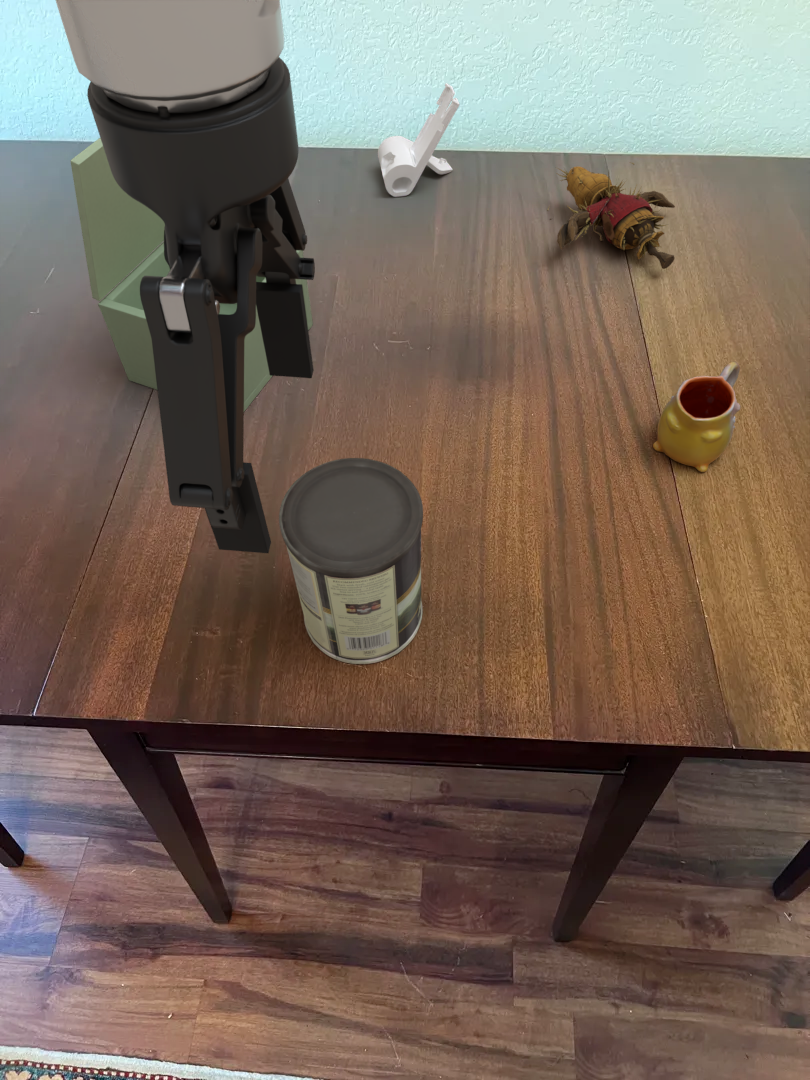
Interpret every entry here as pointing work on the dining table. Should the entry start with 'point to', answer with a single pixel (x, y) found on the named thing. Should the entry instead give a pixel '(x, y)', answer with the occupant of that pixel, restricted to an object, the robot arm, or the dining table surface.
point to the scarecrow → (614, 214)
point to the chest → (135, 338)
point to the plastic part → (417, 149)
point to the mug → (699, 419)
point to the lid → (110, 222)
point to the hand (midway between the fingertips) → (270, 452)
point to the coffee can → (356, 557)
